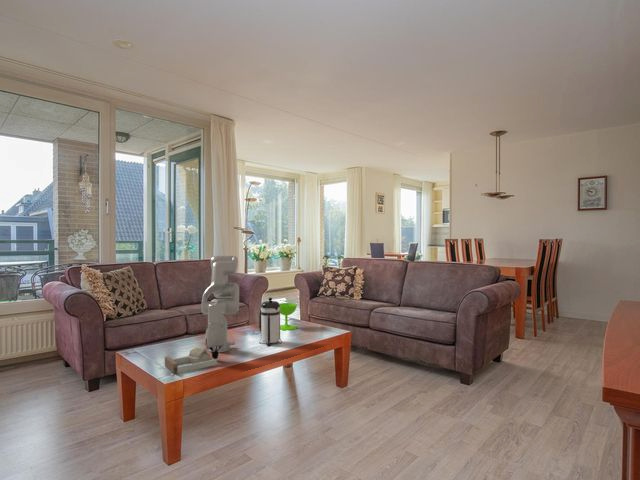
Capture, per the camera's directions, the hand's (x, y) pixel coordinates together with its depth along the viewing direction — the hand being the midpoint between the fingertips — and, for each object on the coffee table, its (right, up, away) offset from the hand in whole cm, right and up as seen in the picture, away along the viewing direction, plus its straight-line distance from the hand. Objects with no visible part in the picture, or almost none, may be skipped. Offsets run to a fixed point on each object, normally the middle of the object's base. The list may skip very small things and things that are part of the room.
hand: (215, 358), depth 213 cm
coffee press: (+25, -1, +36) cm, 44 cm away
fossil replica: (-7, -2, -5) cm, 9 cm away
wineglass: (+33, -1, +77) cm, 84 cm away
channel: (-11, -1, -8) cm, 14 cm away
